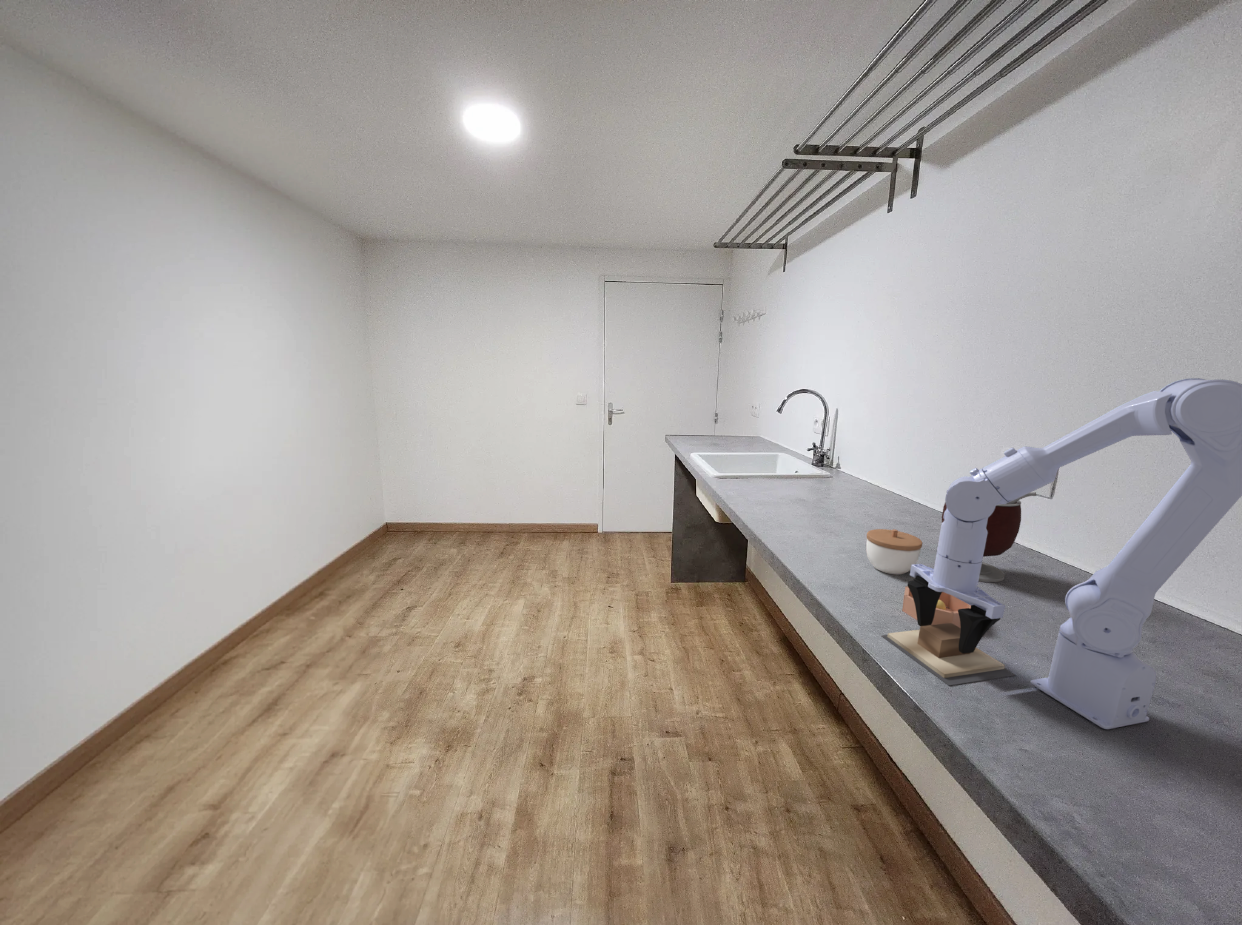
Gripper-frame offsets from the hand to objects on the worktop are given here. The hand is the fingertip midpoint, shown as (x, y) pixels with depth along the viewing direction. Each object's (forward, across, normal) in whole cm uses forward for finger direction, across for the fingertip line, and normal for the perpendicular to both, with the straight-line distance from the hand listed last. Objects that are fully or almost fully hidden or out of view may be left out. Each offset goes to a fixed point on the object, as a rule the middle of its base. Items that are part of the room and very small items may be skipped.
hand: (944, 637), depth 77 cm
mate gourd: (+3, -26, +36) cm, 44 cm away
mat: (+3, 0, 0) cm, 3 cm away
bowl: (+3, -10, +10) cm, 14 cm away
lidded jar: (+3, -30, +16) cm, 34 cm away
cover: (+2, 0, 0) cm, 3 cm away
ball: (+3, -10, +10) cm, 14 cm away
